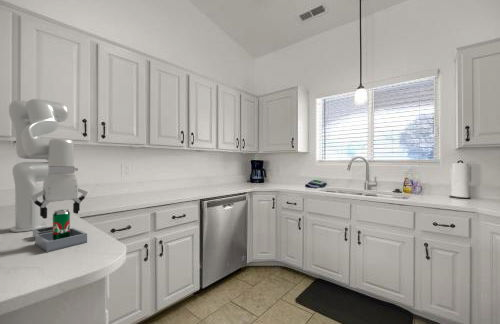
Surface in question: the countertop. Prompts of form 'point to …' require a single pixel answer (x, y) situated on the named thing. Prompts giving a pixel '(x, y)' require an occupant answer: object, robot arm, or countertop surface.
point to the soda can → (61, 224)
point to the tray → (60, 240)
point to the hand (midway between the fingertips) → (60, 215)
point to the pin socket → (42, 231)
